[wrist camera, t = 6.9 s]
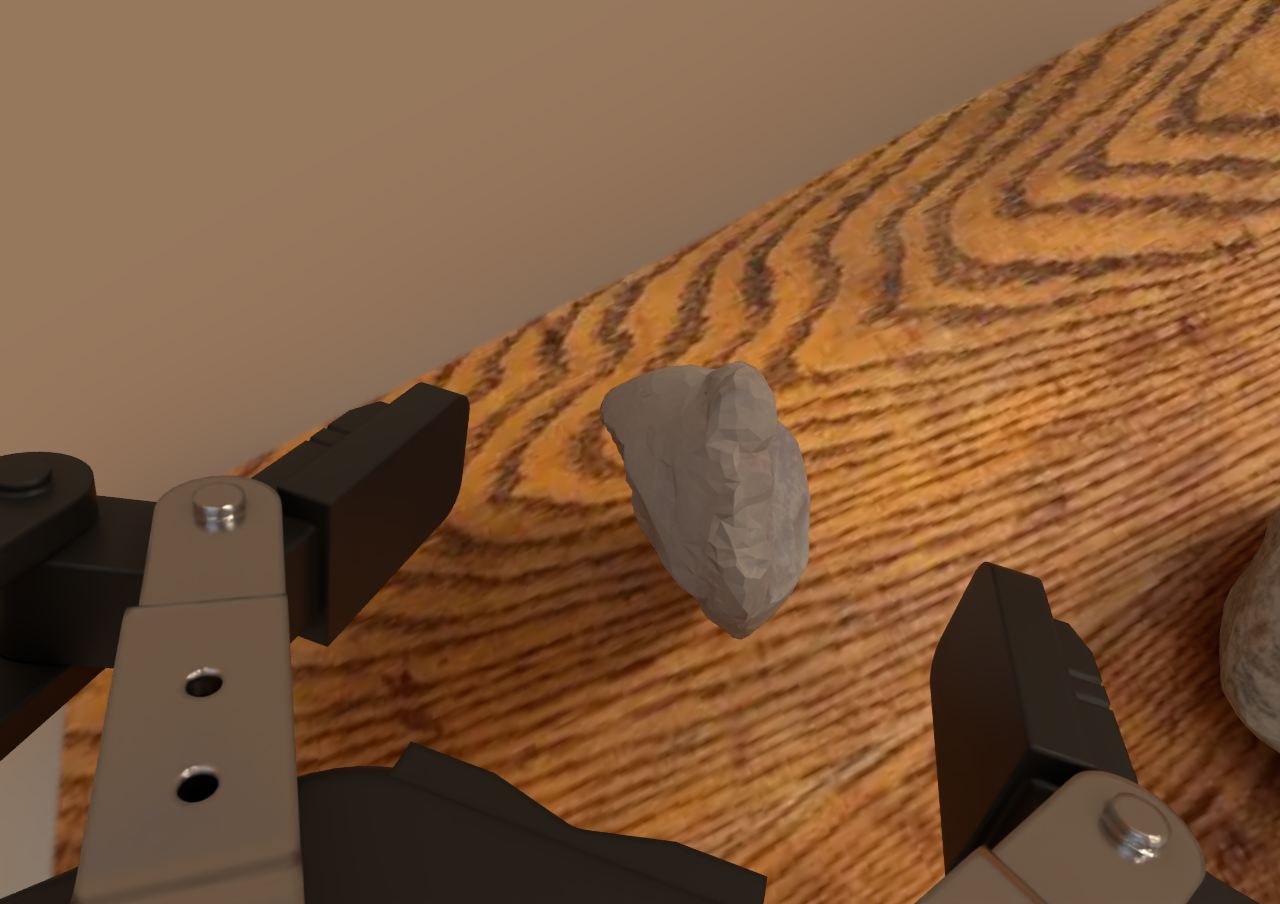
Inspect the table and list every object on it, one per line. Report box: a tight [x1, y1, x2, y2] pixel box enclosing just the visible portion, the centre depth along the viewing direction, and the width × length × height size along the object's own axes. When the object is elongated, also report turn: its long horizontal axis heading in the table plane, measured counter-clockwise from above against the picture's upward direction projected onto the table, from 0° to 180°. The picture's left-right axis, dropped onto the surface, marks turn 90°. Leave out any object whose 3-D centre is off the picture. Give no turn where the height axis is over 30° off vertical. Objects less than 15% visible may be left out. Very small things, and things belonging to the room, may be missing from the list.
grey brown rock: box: [600, 361, 811, 640], centre depth 17 cm, size 6×4×10 cm, turn 26°
